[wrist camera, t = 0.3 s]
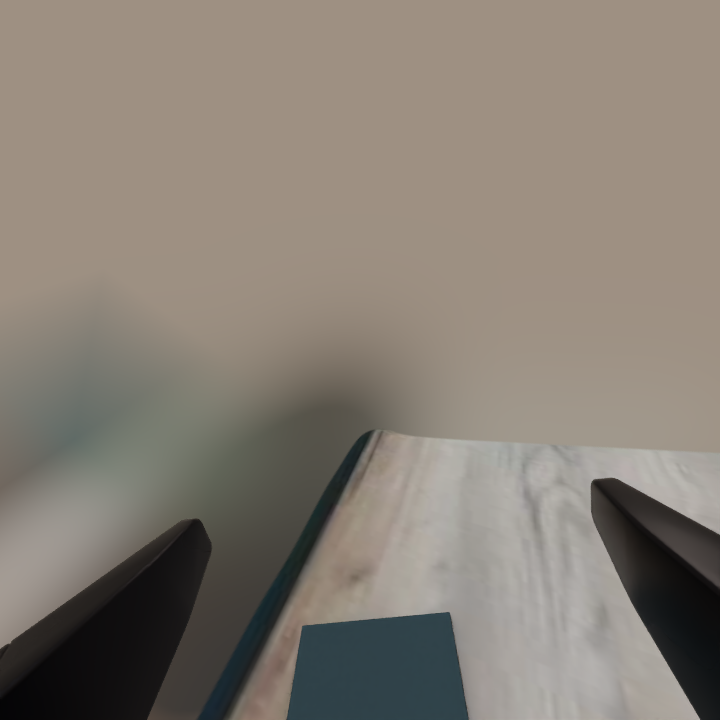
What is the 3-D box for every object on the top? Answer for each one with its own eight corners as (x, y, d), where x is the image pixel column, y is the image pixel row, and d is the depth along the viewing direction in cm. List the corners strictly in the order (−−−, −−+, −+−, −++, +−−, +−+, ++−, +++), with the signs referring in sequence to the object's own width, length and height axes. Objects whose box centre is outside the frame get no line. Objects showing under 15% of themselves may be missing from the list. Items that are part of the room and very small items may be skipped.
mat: (496, 877, 13) (495, 873, 13) (264, 877, 14) (260, 873, 14) (450, 616, 21) (449, 611, 21) (304, 630, 23) (302, 625, 22)
